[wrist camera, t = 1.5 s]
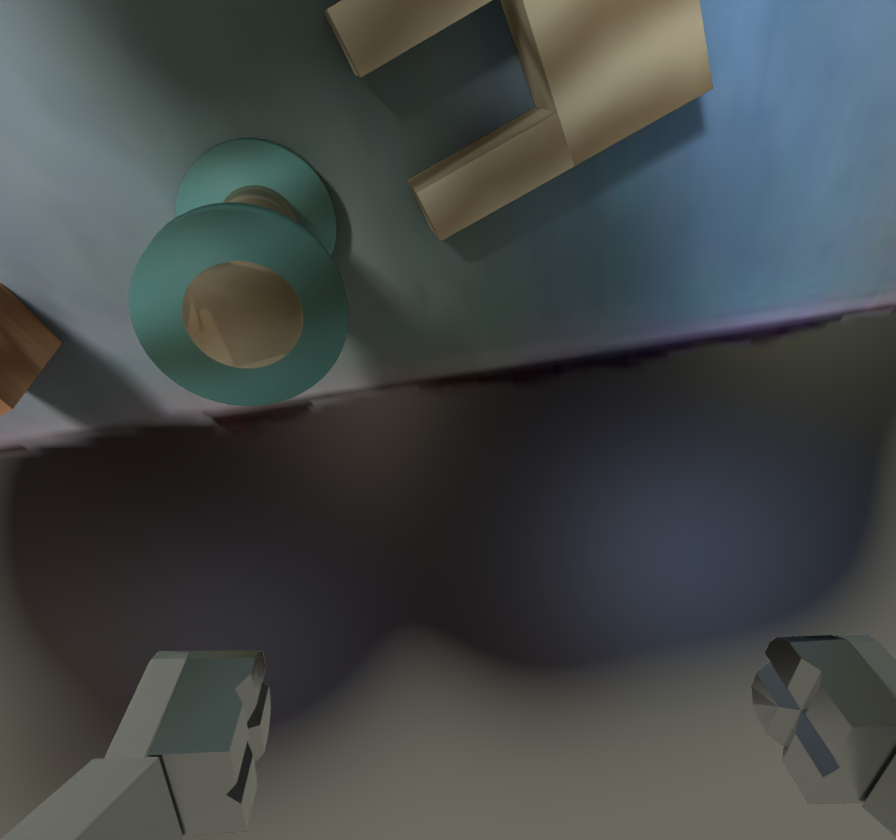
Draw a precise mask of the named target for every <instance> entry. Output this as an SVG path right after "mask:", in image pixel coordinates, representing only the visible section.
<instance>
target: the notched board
mask: <svg viewBox="0 0 896 840" xmlns="http://www.w3.org/2000/svg"><path fill="white" fill-rule="evenodd" d="M490 1H492V0H341V1H340V2H338V3H336V4H335V5H333V6H331V7H330V8H328V9H327V10H325V11H324V14H325V16H326V18H327V20H328V22H329V24H330V26H331V28H332V30H333V32H334V35H335V37H336V39H337V41H338V43H339V45H340V47H341V49H342V51H343V53H344V55H345V57H346V59H347V61H348V63H349V65H350V67H351V69H352V71H353V73H354V75H356V76H358V77H360V78H361V77H363V76H365V75H366V74H368V73H370V72H371V71H373V70H375V69H377V68H378V67H380V66H382V65H383V64H385V63H387V62H388V61H390V60H392V59H394V58H395V57H397V56H399V55H400V54H402V53H404V52H405V51H407V50H409V49H410V48H412V47H414V46H416V45H417V44H419V43H421V42H422V41H424V40H426V39H427V38H429V37H431V36H433V35H434V34H436V33H438V32H439V31H441V30H443V29H444V28H446V27H448V26H450V25H451V24H453V23H455V22H456V21H458V20H460V19H461V18H463V17H465V16H467V15H468V14H470V13H472V12H473V11H475V10H477V9H478V8H480V7H482V6H483V5H485V4H487V3H489V2H490ZM500 1H501V4H502V7H503V10H504V13H505V16H506V20H507V23H508V26H509V29H510V32H511V35H512V38H513V41H514V44H515V47H516V50H517V53H518V56H519V59H520V62H521V65H522V68H523V71H524V74H525V77H526V80H527V83H528V86H529V89H530V92H531V95H532V98H533V101H534V104H535V107H534V108H532V109H531V110H529V111H527V112H525V113H524V114H522V115H520V116H518V117H517V118H515V119H513V120H511V121H510V122H508V123H506V124H504V125H503V126H501V127H499V128H497V129H496V130H494V131H492V132H490V133H489V134H487V135H485V136H483V137H482V138H480V139H478V140H476V141H475V142H473V143H471V144H469V145H468V146H466V147H464V148H462V149H461V150H459V151H457V152H455V153H454V154H452V155H450V156H448V157H447V158H445V159H443V160H441V161H440V162H438V163H436V164H434V165H433V166H431V167H429V168H427V169H426V170H424V171H422V172H420V173H419V174H417V175H415V176H413V177H412V178H410V179H408V180H407V183H408V185H409V187H410V189H411V191H412V193H413V195H414V197H415V199H416V201H417V203H418V205H419V207H420V209H421V211H422V213H423V215H424V217H425V219H426V221H427V223H428V225H429V227H430V228H431V230H432V231H433V232H434V234H435V235H436V236H437V238H438V239H439V240H440V241H442V240H444V239H446V238H448V237H450V236H451V235H453V234H455V233H457V232H458V231H460V230H462V229H464V228H466V227H467V226H469V225H471V224H473V223H474V222H476V221H478V220H480V219H482V218H483V217H485V216H487V215H489V214H490V213H492V212H494V211H496V210H498V209H499V208H501V207H503V206H505V205H506V204H508V203H510V202H512V201H514V200H515V199H517V198H519V197H521V196H523V195H524V194H526V193H528V192H530V191H531V190H533V189H535V188H537V187H539V186H540V185H542V184H544V183H546V182H547V181H549V180H551V179H553V178H555V177H556V176H558V175H560V174H562V173H563V172H565V171H567V170H569V169H571V168H572V167H574V166H576V165H578V164H580V163H581V162H583V161H585V160H587V159H588V158H590V157H592V156H594V155H596V154H597V153H599V152H601V151H603V150H604V149H606V148H608V147H610V146H612V145H613V144H615V143H617V142H619V141H620V140H622V139H624V138H626V137H628V136H629V135H631V134H633V133H635V132H636V131H638V130H640V129H642V128H644V127H645V126H647V125H649V124H651V123H653V122H654V121H656V120H658V119H660V118H661V117H663V116H665V115H667V114H669V113H670V112H672V111H674V110H676V109H677V108H679V107H681V106H683V105H685V104H686V103H688V102H690V101H692V100H693V99H695V98H697V97H699V96H701V95H702V94H704V93H706V92H708V91H710V90H711V89H713V86H712V79H711V73H710V66H709V60H708V53H707V47H706V40H705V34H704V27H703V21H702V14H701V8H700V1H699V0H500Z"/></svg>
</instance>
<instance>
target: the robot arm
mask: <svg viewBox="0 0 896 840" xmlns="http://www.w3.org/2000/svg"><path fill="white" fill-rule="evenodd" d="M765 655H766V657H767V658H768V660H769V663H768V664H766V665H765V666H764V667H762V668H761V669H760V670H759V671H757V672H756V675H755V678H754V681H753V684H752V686H751V687H752V700H753V705H754V708H755V711H756V714H757V717H758V719H759V721H760V722H761V724H762V726H763V728H764V730H765V731H766V733H767V734H768V735H770V736H771V737H772V738H774V739H775V740H776V741H778V742H779V743H780V744H781V745H783V746H784V748H783V762H784V764H785V766H786V767H787V769H788V771H789V772H790V774H791V776H792V778H793V779H794V781H795V782H796V784H797V786H798V788H799V789H800V791H801V793H802V794H803V796H804V798H805V800H806V801H807V803H808V804H846V803H864V804H863V805H862V807H863V808H864V809H865V810H867V811H868V812H869V813H870V814H871V815H872V816H873V817H874V818H876V819H877V820H878V821H879V822H880V823H881V824H882V825H883V826H884V827H886V828H887V829H888V830H889V831H890V832H891V833H892V834H893V835H895V836H896V660H895V659H894V657H893V656H892V655H891V654H890V653H889V652H888V651H887V650H886V649H885V648H884V646H883V645H882V644H881V643H880V642H879V641H877V640H876V639H874V638H872V637H871V636H869V635H836V636H833V635H815V636H791V637H776V638H775V639H774V640H772V641H770V642H769V644H768V647H767V649H766V651H765ZM265 668H266V666H265V660H264V655H263V652H261V651H168V652H167V651H162V652H160V651H159V652H158V653H157V654H156V655H155V656H154V657H153V658H152V660H151V661H150V662H149V664H148V666H147V668H146V670H145V672H144V675H143V677H142V679H141V681H140V683H139V685H138V687H137V690H136V692H135V694H134V696H133V698H132V700H131V703H130V704H129V707H128V709H127V711H126V713H125V715H124V717H123V719H122V722H121V724H120V726H119V728H118V730H117V732H116V735H115V737H114V739H113V741H112V743H111V745H110V747H109V750H108V752H107V754H106V756H105V758H103V759H93V760H92V761H90V762H89V763H88V764H87V765H86V766H85V767H83V768H82V769H81V770H80V771H79V772H78V773H77V774H75V775H74V776H73V777H72V778H71V779H70V780H69V781H67V782H66V783H65V784H64V785H63V786H61V787H60V788H59V789H58V790H57V791H56V792H55V793H53V794H52V795H51V796H50V797H49V798H48V799H46V800H45V801H44V802H43V803H42V804H41V805H40V806H38V807H37V808H36V809H35V810H34V811H33V812H31V813H30V814H29V815H28V816H27V817H26V818H25V819H24V820H22V821H21V822H20V823H19V824H18V825H17V826H15V827H14V828H13V829H12V830H11V831H10V832H8V833H7V834H6V835H5V836H4V837H3V838H2V839H0V840H184V838H183V837H184V836H197V835H210V834H222V833H235V832H246V831H247V828H248V824H249V819H250V815H251V810H252V806H253V801H254V797H255V792H256V788H257V784H258V782H257V776H256V770H255V765H254V763H255V762H256V761H257V760H258V759H259V758H260V756H261V755H262V754H263V753H264V752H265V746H266V742H267V737H268V731H269V722H270V692H269V686H268V685H266V684H265V683H264V682H263V681H262V680H263V675H264V672H265Z"/></svg>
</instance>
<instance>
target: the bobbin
mask: <svg viewBox="0 0 896 840" xmlns="http://www.w3.org/2000/svg"><path fill="white" fill-rule="evenodd" d="M336 230H337V225H336V216H335V211H334V207H333V203H332V200H331V197H330V195H329V192H328V190H327V188H326V186H325V184H324V182H323V181H322V179H321V178H320V176H319V175H318V173H317V172H316V171H315V170H314V169H313V167H312V166H311V165H310V164H309V163H308V162H306V161H305V160H304V159H303V158H302V157H301V156H299V155H298V154H296V153H295V152H293V151H292V150H290V149H288V148H286V147H284V146H282V145H279V144H277V143H274V142H271V141H267V140H262V139H254V138H241V139H235V140H230V141H227V142H224V143H221V144H219V145H217V146H215V147H212V148H211V149H209V150H208V151H207V152H205V153H204V154H202V155H201V156H200V157H199V158H198V159H197V160H196V161H195V163H194V164H193V165H192V167H191V168H190V169H189V171H188V172H187V173H186V175H185V177H184V179H183V181H182V183H181V185H180V188H179V191H178V195H177V201H176V218H175V219H174V220H172V221H171V222H169V223H168V224H167V225H166V226H165V227H164V228H162V229H161V230H160V231H159V232H158V233H157V235H156V236H155V237H154V239H153V240H152V241H151V242H150V244H149V245H148V247H147V248H146V250H145V251H144V253H143V254H142V256H141V258H140V259H139V261H138V263H137V265H136V267H135V270H134V273H133V276H132V279H131V285H130V292H129V307H130V314H131V320H132V323H133V326H134V330H135V333H136V335H137V337H138V339H139V341H140V343H141V345H142V347H143V348H144V350H145V352H146V353H147V355H148V356H149V357H150V359H151V360H152V361H153V362H154V363H155V365H156V366H157V367H158V368H159V369H160V370H161V371H162V372H163V373H164V374H165V375H166V376H168V377H169V378H170V379H172V380H173V381H174V382H176V383H177V384H178V385H180V386H182V387H183V388H185V389H187V390H188V391H190V392H192V393H194V394H197V395H199V396H201V397H204V398H207V399H210V400H213V401H216V402H220V403H225V404H230V405H240V406H258V405H267V404H272V403H277V402H281V401H284V400H287V399H290V398H292V397H294V396H296V395H299V394H301V393H303V392H304V391H306V390H307V389H309V388H311V387H312V386H314V385H315V384H316V383H317V382H318V381H320V380H321V379H322V378H323V377H324V376H325V375H326V374H327V372H328V371H329V370H330V369H331V368H332V366H333V365H334V363H335V362H336V360H337V359H338V357H339V355H340V353H341V351H342V348H343V345H344V342H345V340H346V335H347V330H348V305H347V299H346V295H345V291H344V286H343V282H342V278H341V276H340V273H339V270H338V268H337V266H336V264H335V262H334V260H333V259H332V257H331V256H332V253H333V250H334V247H335V241H336Z"/></svg>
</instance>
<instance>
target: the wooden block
mask: <svg viewBox="0 0 896 840" xmlns="http://www.w3.org/2000/svg"><path fill="white" fill-rule="evenodd" d="M61 344H62V342H61V341H60V340H59V339H58V338H57V337H56V336H55V335H54V334H53V333H52V332H51V331H50V330H49V329H48V328H47V327H46V326H45V325H44V324H43V323H42V322H41V321H40V320H39V319H38V318H37V317H36V316H35V315H34V314H32V313H31V312H30V311H29V310H28V309H27V308H26V307H25V306H24V305H23V304H22V303H21V302H20V301H19V300H18V299H17V298H16V297H15V296H14V295H13V294H12V293H11V292H10V291H9V290H8V289H7V288H6V287H5V286H4V285H3V284H2V283H0V416H1V415H3V414H5V413H7V412H8V411H10V410H12V409H13V408H14V407H15V405H16V404H17V403H18V401H19V400H20V399H21V397H22V396H23V395H24V393H25V392H26V391H27V389H28V388H29V387H30V385H31V384H32V383H33V381H34V380H35V379H36V377H37V376H38V375H39V373H40V372H41V371H42V369H43V368H44V367H45V365H46V364H47V363H48V361H49V360H50V359H51V357H52V356H53V355H54V353H55V352H56V351H57V349H58V348H59V347H60V346H61Z"/></svg>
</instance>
